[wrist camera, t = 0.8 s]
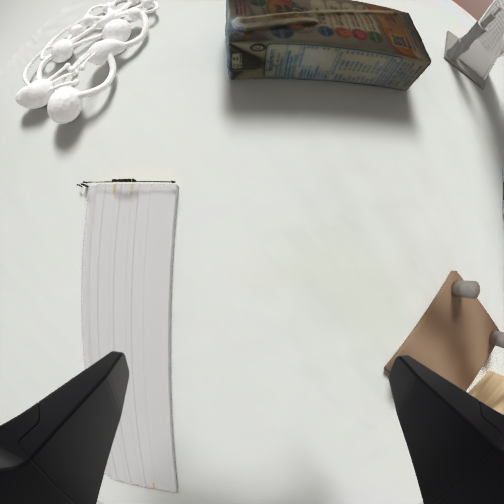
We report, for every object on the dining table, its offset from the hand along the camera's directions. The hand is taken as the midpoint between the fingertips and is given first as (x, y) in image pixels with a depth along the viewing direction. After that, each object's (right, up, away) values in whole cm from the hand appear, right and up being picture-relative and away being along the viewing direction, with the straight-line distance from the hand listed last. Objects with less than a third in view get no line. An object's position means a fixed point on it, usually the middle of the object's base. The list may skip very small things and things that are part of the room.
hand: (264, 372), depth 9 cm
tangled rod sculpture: (-19, +26, +16) cm, 36 cm away
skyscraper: (+30, +30, +18) cm, 46 cm away
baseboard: (-12, -6, +16) cm, 21 cm away
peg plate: (+20, -6, +16) cm, 26 cm away
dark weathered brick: (+7, +24, +17) cm, 30 cm away
